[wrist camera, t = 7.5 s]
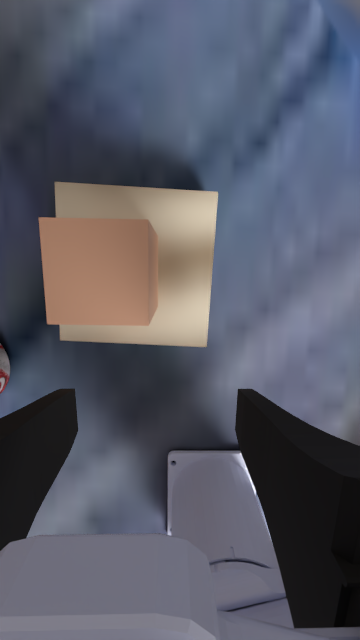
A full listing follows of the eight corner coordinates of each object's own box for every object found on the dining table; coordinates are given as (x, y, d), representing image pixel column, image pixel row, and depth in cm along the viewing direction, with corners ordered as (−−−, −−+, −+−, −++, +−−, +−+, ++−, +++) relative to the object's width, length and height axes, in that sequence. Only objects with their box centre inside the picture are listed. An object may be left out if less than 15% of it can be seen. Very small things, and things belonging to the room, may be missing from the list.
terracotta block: (158, 306, 18) (148, 325, 12) (90, 305, 18) (47, 324, 12) (157, 236, 17) (148, 219, 11) (86, 234, 17) (38, 217, 11)
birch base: (200, 333, 22) (206, 347, 18) (80, 327, 22) (59, 340, 18) (209, 206, 20) (218, 191, 16) (78, 198, 20) (54, 181, 16)
